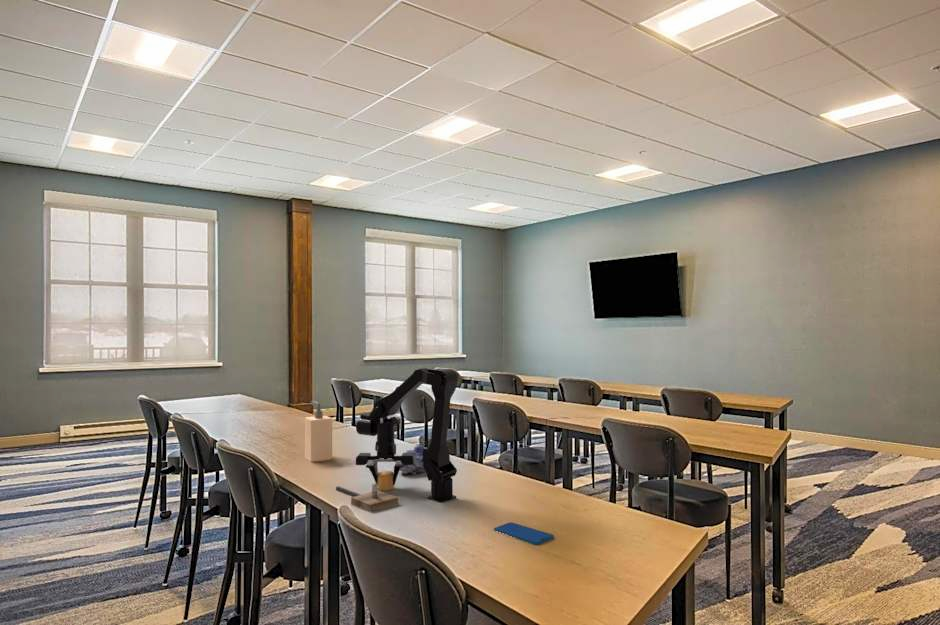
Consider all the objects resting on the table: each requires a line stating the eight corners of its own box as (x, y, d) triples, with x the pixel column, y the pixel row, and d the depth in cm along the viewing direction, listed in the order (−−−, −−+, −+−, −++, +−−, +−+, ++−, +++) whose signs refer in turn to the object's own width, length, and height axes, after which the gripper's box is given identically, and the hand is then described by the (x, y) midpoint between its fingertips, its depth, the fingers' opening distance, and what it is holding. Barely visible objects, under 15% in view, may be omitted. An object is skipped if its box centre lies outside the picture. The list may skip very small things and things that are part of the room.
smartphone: (510, 521, 156) (555, 535, 145) (510, 525, 156) (555, 539, 145) (491, 528, 151) (536, 543, 140) (492, 532, 151) (536, 547, 140)
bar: (366, 500, 176) (366, 496, 176) (363, 500, 176) (363, 497, 176) (338, 489, 188) (338, 486, 188) (336, 489, 187) (336, 486, 187)
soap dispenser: (332, 459, 229) (332, 403, 229) (310, 462, 225) (310, 405, 225) (322, 453, 240) (322, 400, 240) (302, 455, 236) (302, 401, 236)
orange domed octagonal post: (396, 488, 189) (396, 472, 189) (384, 491, 185) (384, 475, 185) (387, 485, 192) (387, 470, 192) (375, 488, 189) (375, 473, 189)
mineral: (422, 441, 218) (435, 444, 210) (425, 466, 218) (439, 470, 210) (388, 451, 210) (400, 454, 202) (391, 477, 210) (404, 481, 202)
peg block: (398, 504, 172) (398, 483, 173) (370, 511, 165) (370, 490, 166) (378, 496, 180) (378, 477, 180) (351, 504, 173) (351, 484, 173)
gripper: (416, 432, 197) (416, 478, 197) (362, 432, 197) (362, 478, 197) (413, 439, 186) (413, 487, 186) (355, 439, 186) (355, 488, 186)
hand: (385, 485), depth 189 cm, fingers closed on orange domed octagonal post, 5 cm apart
